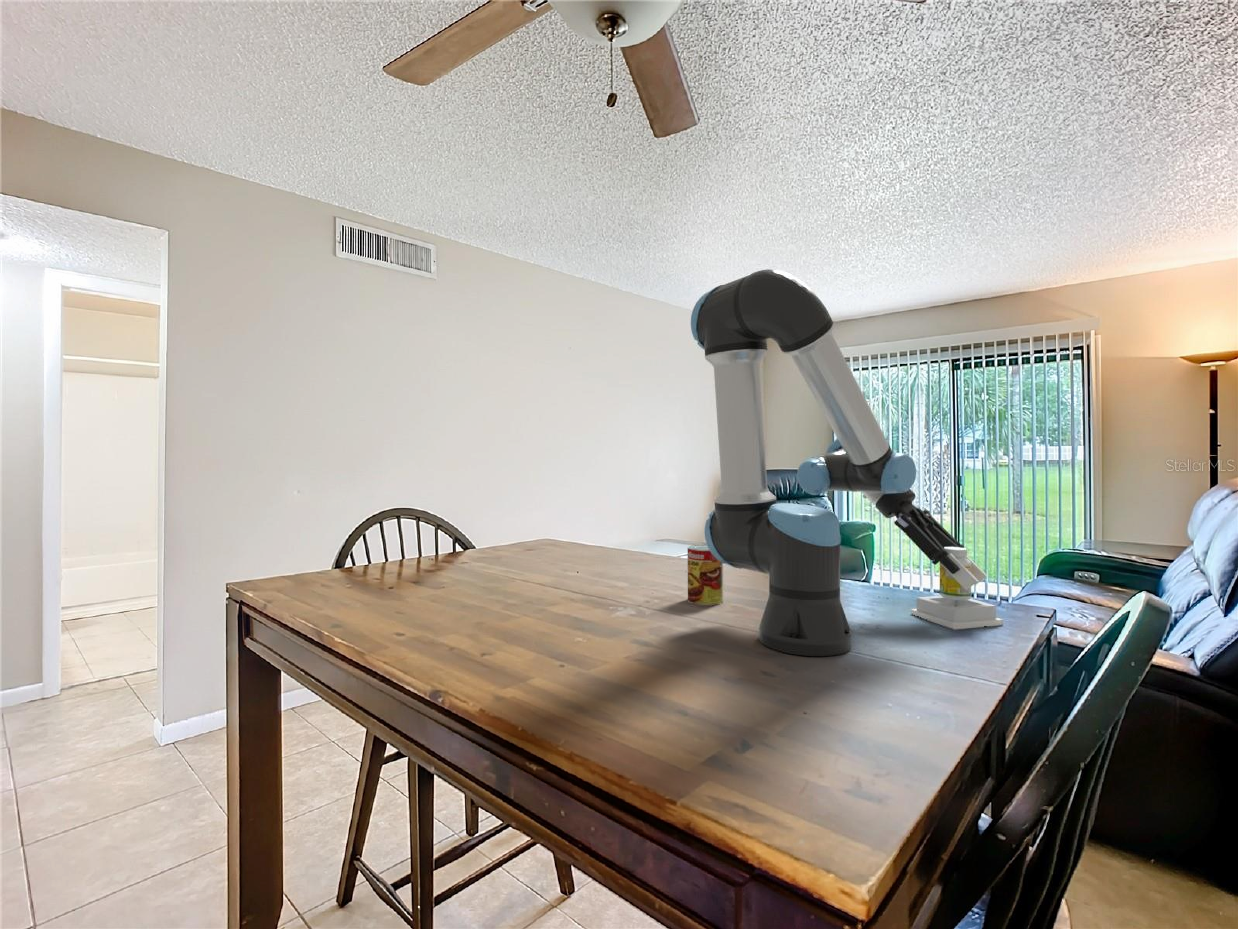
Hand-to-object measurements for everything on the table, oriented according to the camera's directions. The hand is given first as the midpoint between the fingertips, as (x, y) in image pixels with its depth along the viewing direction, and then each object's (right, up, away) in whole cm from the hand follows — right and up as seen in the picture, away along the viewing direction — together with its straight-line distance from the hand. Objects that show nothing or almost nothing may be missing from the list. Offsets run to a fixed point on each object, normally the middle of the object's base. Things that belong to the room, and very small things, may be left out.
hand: (976, 582), depth 111 cm
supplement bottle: (-2, -4, +3) cm, 5 cm away
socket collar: (-3, -8, +3) cm, 8 cm away
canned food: (-49, -8, +19) cm, 53 cm away
